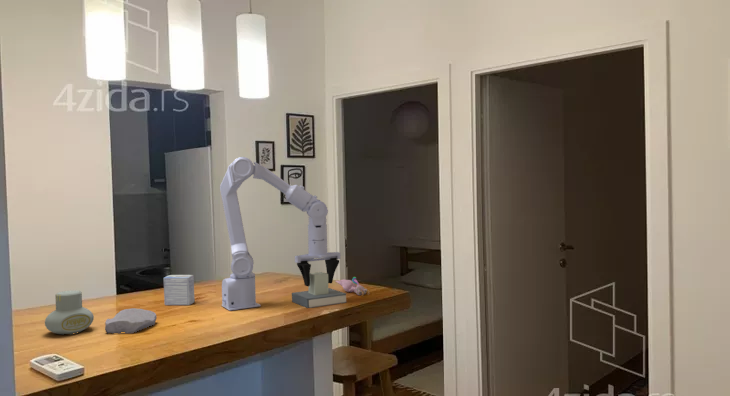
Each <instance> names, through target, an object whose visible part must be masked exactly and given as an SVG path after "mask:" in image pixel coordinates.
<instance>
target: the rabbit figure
mask: <svg viewBox="0 0 730 396" xmlns="http://www.w3.org/2000/svg"><path fill="white" fill-rule="evenodd" d="M358 281H359V280H357V277H356V276H353V277H352V279H345V278H344V279H340V280H335V283H337V284H339V285H340V286H341V288H342V289H343V290H344V291H345V292H348V293H349V292H350V293H356V296H362V297H364V295H366V294H367V295H368V296H369V295H370V294H371V293H370V290H369V289H368V288H365V286H363V285H361V284H360V283H359V282H358Z"/></svg>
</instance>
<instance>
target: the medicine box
mask: <svg viewBox="0 0 730 396" xmlns="http://www.w3.org/2000/svg"><path fill="white" fill-rule="evenodd" d="M194 279H195V278H194V274H170V275H166V276H165V277H163V297H164V301H163V302H164V305H165V306H190V305H192V304H193V303H195V280H194Z"/></svg>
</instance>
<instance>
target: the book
mask: <svg viewBox="0 0 730 396" xmlns="http://www.w3.org/2000/svg"><path fill="white" fill-rule="evenodd" d="M328 293H329V294H322V295H313V294H310V293H309V290H302V291H296V292H295V291H294V292H291V302H292V303H295V305H296V304H297V305H299V306H301V307H303V308H306V309H312V308H320V307H326V306H332V305H339V304H340V303H341V304H345V303H347V293H346V292H342V291H339V290H337V289H333V288H330V287H328Z"/></svg>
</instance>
